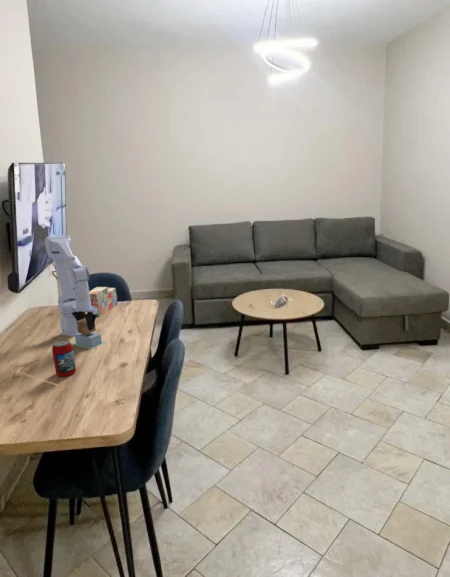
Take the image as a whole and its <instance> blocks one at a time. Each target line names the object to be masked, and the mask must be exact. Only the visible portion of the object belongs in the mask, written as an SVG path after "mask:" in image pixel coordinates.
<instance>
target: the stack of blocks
mask: <svg viewBox="0 0 450 577" xmlns="http://www.w3.org/2000/svg"><path fill="white" fill-rule="evenodd" d="M89 294H90V302H91V306H93V307H94V308H97V309H98V314H97V316H96V318H97V317H101V316H103V315H104V314H106V313H108V311H110V310H111V309H113V308H115V307H116V306H117V305H118V294H117V289H116V287H108V286H96V287H94V288H92V289H91V290H89Z"/></svg>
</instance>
